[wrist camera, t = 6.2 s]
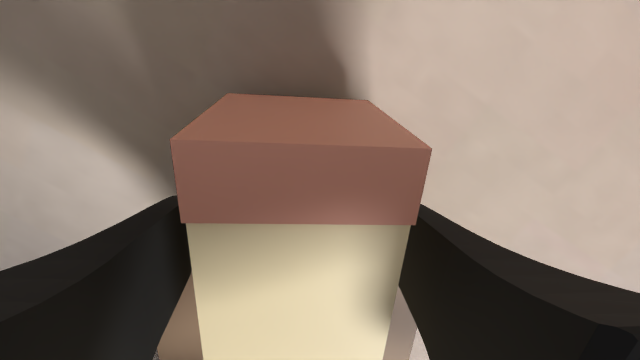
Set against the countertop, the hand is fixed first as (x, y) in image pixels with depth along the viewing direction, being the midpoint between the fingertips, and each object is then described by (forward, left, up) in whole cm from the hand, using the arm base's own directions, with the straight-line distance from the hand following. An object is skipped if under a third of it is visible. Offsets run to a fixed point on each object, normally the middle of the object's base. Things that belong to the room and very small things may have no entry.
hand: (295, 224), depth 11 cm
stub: (0, 0, -1) cm, 1 cm away
